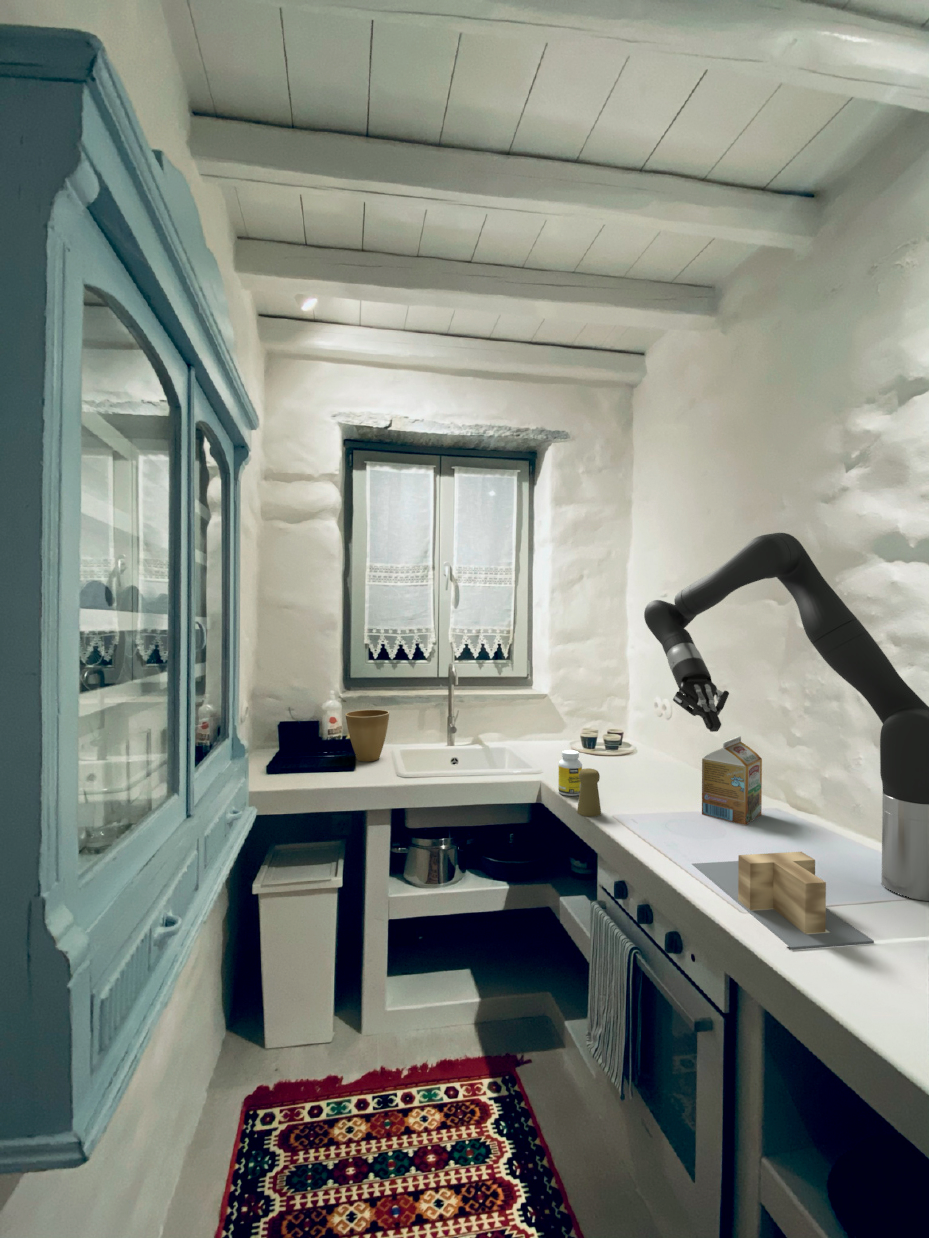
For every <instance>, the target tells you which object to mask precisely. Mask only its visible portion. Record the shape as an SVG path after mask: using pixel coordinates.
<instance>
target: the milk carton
mask: <svg viewBox="0 0 929 1238" xmlns="http://www.w3.org/2000/svg"><path fill="white" fill-rule="evenodd" d="M762 774H763V757H761V756H760V755H759V754H758V753H757V752H756V751H755V750H753V749H752V748H751V747H750V746H748V744H747V745H746V744H745V743H744V742H743V741H742V737H741V736H739V735H738V736H736V737H733V738H731V739H728V740H726V741H723V742H722V747H721V748H719V749H717V750H714V751H712V752H709V753H708V754H705V756H704V757H703V758H701V815H702V816H707V817H709V818H710V817H711V818H713V819H718V820H722V821H727V822H730V823H735V824H739V825H741V826H746V825H748V824H750V823H751V822H753V821H754V820H755V819H757V818H758V817H760V816H761V815H762V801H763V800H762V799H763V797H762V796H763V795H762V793H763V792H762V789H763V775H762Z"/></svg>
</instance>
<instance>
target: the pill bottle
mask: <svg viewBox="0 0 929 1238" xmlns="http://www.w3.org/2000/svg"><path fill="white" fill-rule="evenodd" d="M561 757H562V759H560V760H559V762H558V792H559V793H560V794H561V795H563V796H568V797H576V796H579V794H580V787H581V781H580V780H579V772H580V771H581V770H582V769H583V763H582V762H581V760H579V758H580V752H579V751H578V750H574V749H566V750H562V751H561Z"/></svg>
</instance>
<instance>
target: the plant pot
mask: <svg viewBox="0 0 929 1238" xmlns="http://www.w3.org/2000/svg"><path fill="white" fill-rule="evenodd" d="M389 718H390V711H388V710H385V709H384V710H382V709H360V710H354V711H353V710H352V711H349V712H347V713H345V721H346V726H347V732H348V735H349V739H350V742H351V746H352V749H353V752H354V755H355V754H356V755H355V757H356V759H357V761H360V762H367V763H368V762H374V761H378V760H379V759H380V757H381V754H382V752H383V748H384V744H385V741H386V738H387V732H388V728H389V727H388V725H389V720H390V719H389Z"/></svg>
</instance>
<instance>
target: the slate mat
mask: <svg viewBox="0 0 929 1238" xmlns="http://www.w3.org/2000/svg"><path fill="white" fill-rule="evenodd" d="M691 865H692V866H693V867H694V868H695V869H696V870H698V871H699V872H700V873H702V875H704V876H705V877H706V878H707V879H709V880H710V881H711V882H712V883H714V885H716V887H718V888H719V889H720V890H721V891H723V892H724V893H725V894H726V895H727V896H729V898H731V899H732V900H733V901H735V902H736V903H737V904H738V905H739V906H740V907H742V908H743V909H744V910H746V912H748V914H750V915H751V916H753V918H755V919H756V920H757V921H758V922H759V923H761V924H762V925H763V927H765V928H767V929H768V930H769V931H770V932H771V933H772V934H774V935H775V937H777V938H778V939H779V940H780V941H782V942H783V944H786V945H787V946H786V948H787V949H789V950H790V951H792V950H793V951H794V950H805V949H807V950H808V949H819V948H831V947H840V946H854V945H857V946H858V945H868V944H869V945H870V944H874V943H875V940H873V939H872V938H871V937H869V936H868V935H866V934H864V933H863V932H862V931H861V930H859V929H857V928H856V927H855V926H853V925H852V924H850V923H849V922H847V921H846V920H844V919H843V918H841V917H840V916H839V915H837V914H836V913H834V912H833V911H831V910H830V909H829V908H827V907H826V924H825V932H821V933H807V934H805V933H804V932H802V931H801V930H800V929H799V928H797V927H796V926H795V925H793V924H792V923H791V922H790V921H788V920H787V919H786V918H785V917H783V916H782V915H781V914H779V913H778V912H777V911H776V910H774V909H758V910H749V909H748V908H747V907H746V906H745V905H743V904H742V903H741V902H740V901H739V900H738V860H732V861H715V862H714V861H713V862H700V863H699V862H697V863H691Z"/></svg>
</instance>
